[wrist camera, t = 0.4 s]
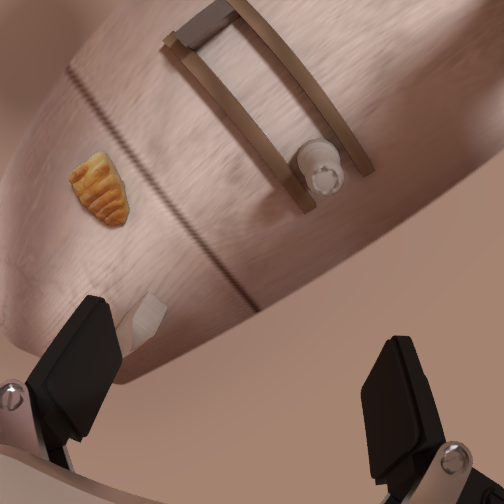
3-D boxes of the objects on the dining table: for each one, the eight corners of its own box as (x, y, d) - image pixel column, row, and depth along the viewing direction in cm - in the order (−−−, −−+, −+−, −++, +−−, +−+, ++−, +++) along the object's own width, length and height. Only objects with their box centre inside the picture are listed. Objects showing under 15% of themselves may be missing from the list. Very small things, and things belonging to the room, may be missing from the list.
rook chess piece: (330, 184, 32) (341, 213, 26) (291, 171, 32) (291, 197, 25) (345, 146, 30) (361, 165, 23) (304, 132, 30) (308, 146, 23)
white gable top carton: (127, 311, 46) (100, 357, 37) (148, 291, 43) (120, 339, 34) (145, 326, 47) (121, 373, 38) (168, 307, 44) (143, 357, 36)
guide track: (233, -11, 23) (231, -15, 22) (372, 167, 31) (375, 170, 30) (166, 41, 26) (162, 40, 25) (304, 210, 34) (304, 214, 33)
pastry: (145, 207, 37) (132, 221, 33) (110, 229, 39) (96, 243, 36) (106, 144, 33) (88, 152, 30) (73, 171, 35) (56, 181, 32)
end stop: (227, 3, 24) (221, -4, 21) (239, 16, 24) (234, 9, 22) (183, 37, 26) (173, 34, 23) (194, 50, 27) (185, 47, 24)
